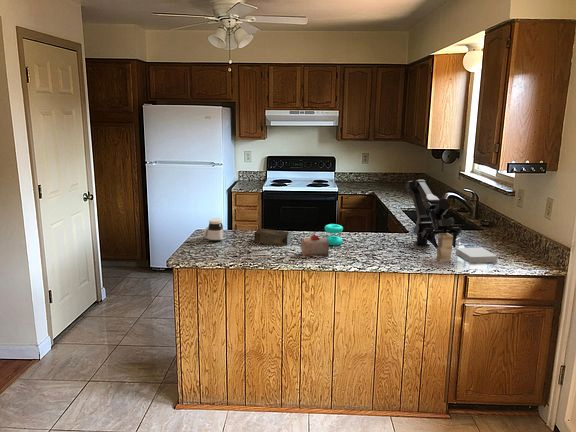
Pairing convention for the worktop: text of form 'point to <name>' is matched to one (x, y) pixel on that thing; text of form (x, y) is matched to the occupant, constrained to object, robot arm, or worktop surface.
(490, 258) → the light grey slab
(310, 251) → the food item
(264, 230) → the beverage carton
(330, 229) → the donuts
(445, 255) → the birch block
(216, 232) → the spread jar
